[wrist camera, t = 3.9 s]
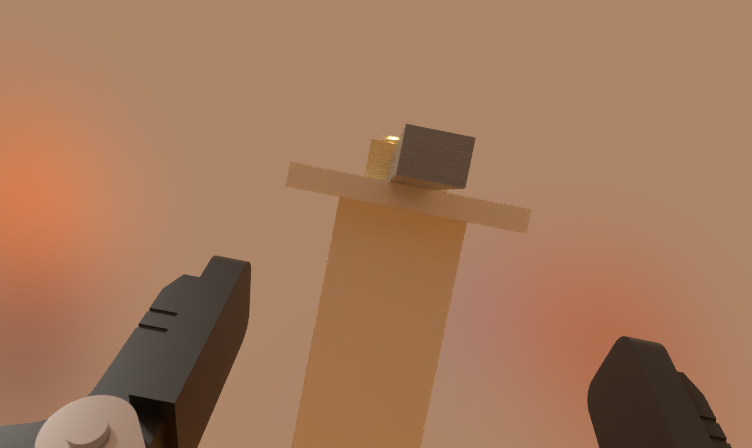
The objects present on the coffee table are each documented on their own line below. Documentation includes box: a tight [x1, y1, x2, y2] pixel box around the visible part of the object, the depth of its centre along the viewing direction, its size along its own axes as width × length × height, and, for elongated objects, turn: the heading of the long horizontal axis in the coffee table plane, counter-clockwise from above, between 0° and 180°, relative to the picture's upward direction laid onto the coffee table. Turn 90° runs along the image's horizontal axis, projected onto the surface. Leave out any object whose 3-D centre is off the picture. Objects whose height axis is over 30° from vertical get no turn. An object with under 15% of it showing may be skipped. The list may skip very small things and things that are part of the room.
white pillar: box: [286, 162, 531, 448], centre depth 32 cm, size 12×12×32 cm
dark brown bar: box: [364, 124, 475, 193], centre depth 26 cm, size 5×20×3 cm, turn 179°
